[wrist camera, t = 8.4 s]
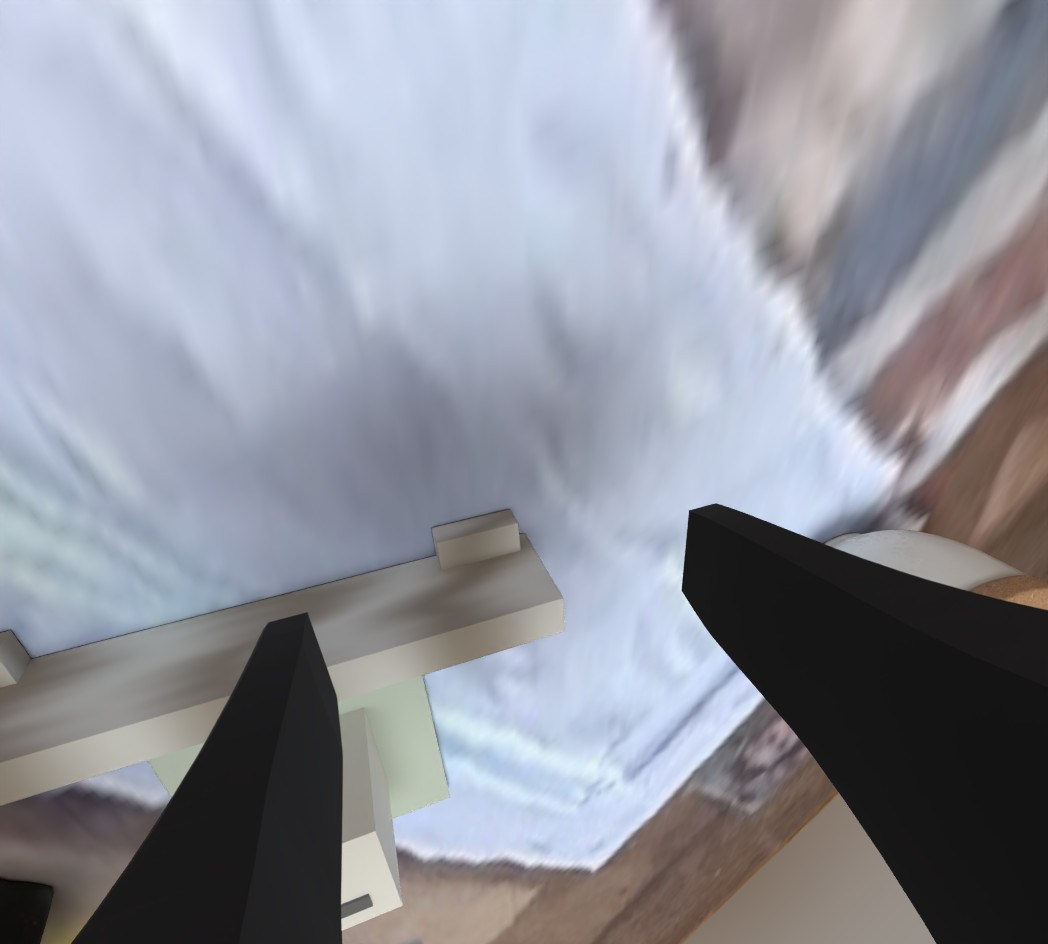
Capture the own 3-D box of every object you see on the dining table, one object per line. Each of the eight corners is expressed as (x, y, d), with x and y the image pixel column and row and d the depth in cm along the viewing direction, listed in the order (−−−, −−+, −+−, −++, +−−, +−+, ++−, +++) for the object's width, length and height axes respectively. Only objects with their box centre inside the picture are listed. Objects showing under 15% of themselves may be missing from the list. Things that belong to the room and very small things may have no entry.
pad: (413, 638, 22) (415, 649, 21) (447, 785, 27) (450, 797, 26) (134, 719, 19) (129, 734, 19) (227, 865, 24) (225, 880, 24)
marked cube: (363, 707, 22) (375, 834, 18) (387, 781, 24) (402, 908, 20) (229, 749, 21) (207, 897, 16) (268, 823, 23) (258, 968, 19)
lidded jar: (713, 599, 27) (876, 768, 19) (883, 453, 26) (1125, 568, 18) (785, 682, 33) (933, 839, 25) (926, 565, 32) (1125, 688, 24)
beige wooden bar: (522, 505, 21) (562, 568, 17) (529, 586, 23) (566, 656, 19) (-133, 664, 16) (-253, 794, 12) (-52, 750, 18) (-137, 882, 14)
